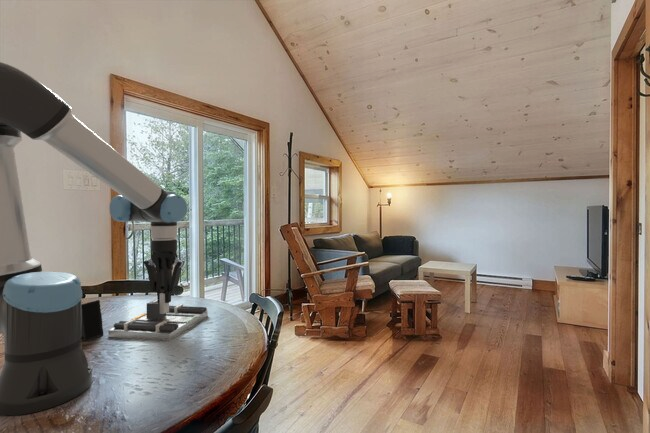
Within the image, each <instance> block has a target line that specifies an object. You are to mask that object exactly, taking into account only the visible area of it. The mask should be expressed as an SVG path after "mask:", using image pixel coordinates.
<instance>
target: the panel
mask: <svg viewBox="0 0 650 433" xmlns="http://www.w3.org/2000/svg"><path fill="white" fill-rule="evenodd" d="M208 311H209V310H208V309H207V310H206V311H204V312H203V313H190V312H177V313H174V312H167V313H166V316H165V317H163V318H161V319H159V320H154V319H147V312H146V313H142V314H140V315H137V316H134V317H132V318H131V319H130V320H129V321H131V320H133V319H136V322H151V323H161V322H163V321H167V323H170V324H178V328H177V329H175V330H174V331H161V330H160V331H159V332H156V330H143V329H127V330H124V328H114V327H112V328H110V329H109V330H108V331H107V333H108V334H107V335H108V338H117V339H119V338H120V339H132V340H133V339H134V340H136V339H137V340H152V341H166V342H167V341H168V342H170V341H172V340H173V339H175V338H176V337H178V336H180V334H183V333H184V332H185V331H187V330H188V329H190V328H191V327H193V326H195V325H196V324H198V323H199V322H201V321H203V320H204V319H206V318H207V317H208V316H209V314H208V313H209V312H208Z"/></svg>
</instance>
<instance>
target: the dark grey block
mask: <svg viewBox="0 0 650 433" xmlns="http://www.w3.org/2000/svg"><path fill="white" fill-rule="evenodd" d="M146 313H147V319H154V320H159V319H161V318H163V317H165V316H166V313H165V314H160V303H158V301H157V299H154V300H152V301H149V302H146Z"/></svg>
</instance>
